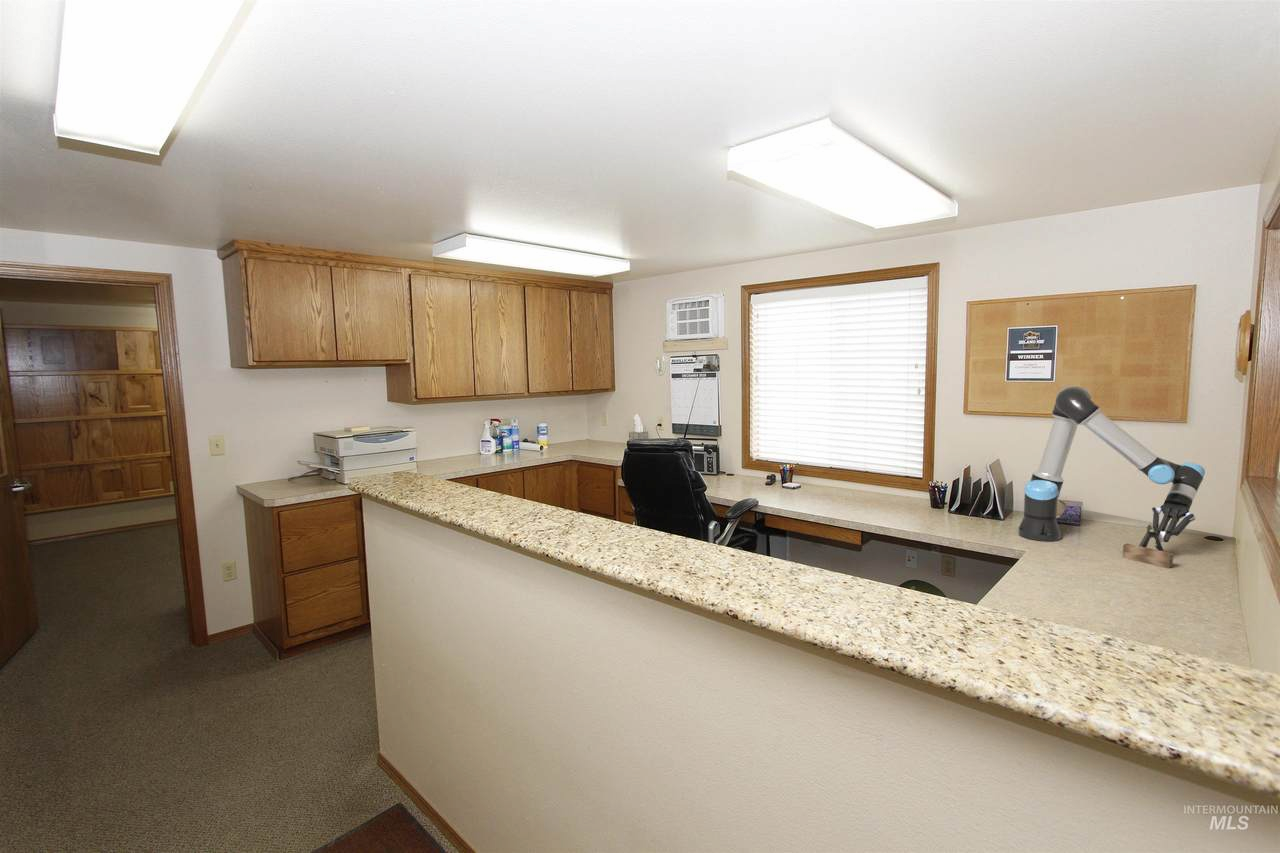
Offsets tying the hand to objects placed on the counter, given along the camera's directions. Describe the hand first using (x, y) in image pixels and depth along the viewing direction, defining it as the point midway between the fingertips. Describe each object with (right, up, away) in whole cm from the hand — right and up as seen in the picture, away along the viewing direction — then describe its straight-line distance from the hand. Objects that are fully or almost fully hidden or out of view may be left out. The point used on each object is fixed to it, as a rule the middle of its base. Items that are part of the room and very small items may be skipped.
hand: (1157, 547), depth 222 cm
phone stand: (-2, -4, +1) cm, 5 cm away
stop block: (-7, -5, -3) cm, 9 cm away
